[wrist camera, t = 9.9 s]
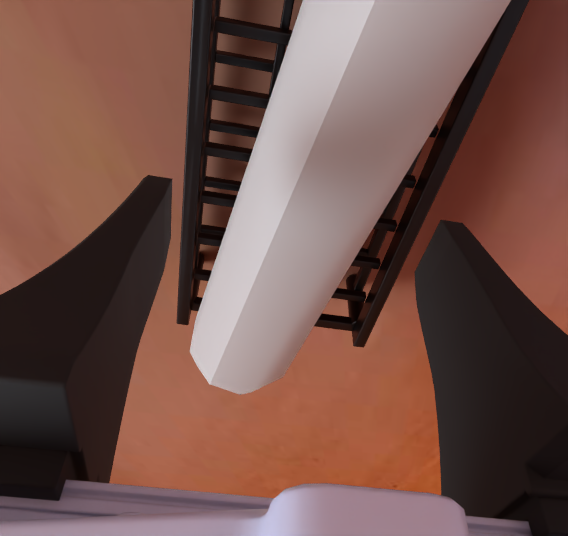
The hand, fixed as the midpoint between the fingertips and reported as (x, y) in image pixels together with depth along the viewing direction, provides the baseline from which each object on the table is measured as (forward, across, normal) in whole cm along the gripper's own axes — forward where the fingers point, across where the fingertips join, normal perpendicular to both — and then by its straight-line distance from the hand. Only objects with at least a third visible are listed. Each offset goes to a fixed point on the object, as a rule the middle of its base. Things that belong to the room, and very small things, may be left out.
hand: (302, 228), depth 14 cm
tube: (+7, -1, +1) cm, 7 cm away
